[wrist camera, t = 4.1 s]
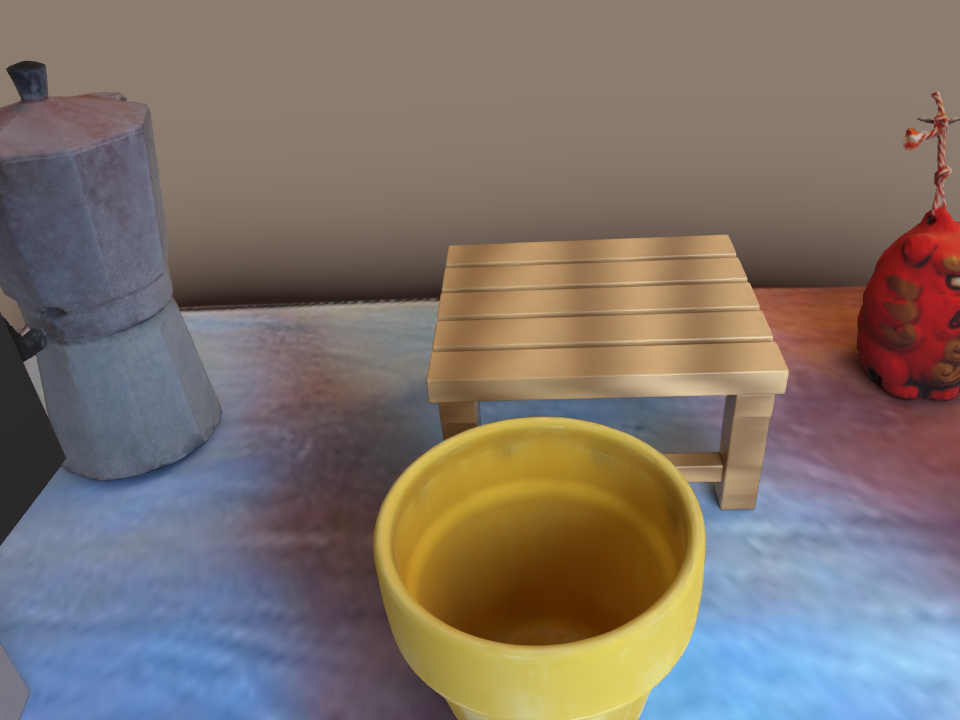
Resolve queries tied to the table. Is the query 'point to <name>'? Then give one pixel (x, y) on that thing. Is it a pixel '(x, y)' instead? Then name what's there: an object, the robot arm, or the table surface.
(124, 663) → the table surface
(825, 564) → the table surface
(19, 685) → the perfume bottle
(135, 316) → the moka pot
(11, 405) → the robot arm
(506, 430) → the flower pot
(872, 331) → the red clay folk toy
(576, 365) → the plant rack
